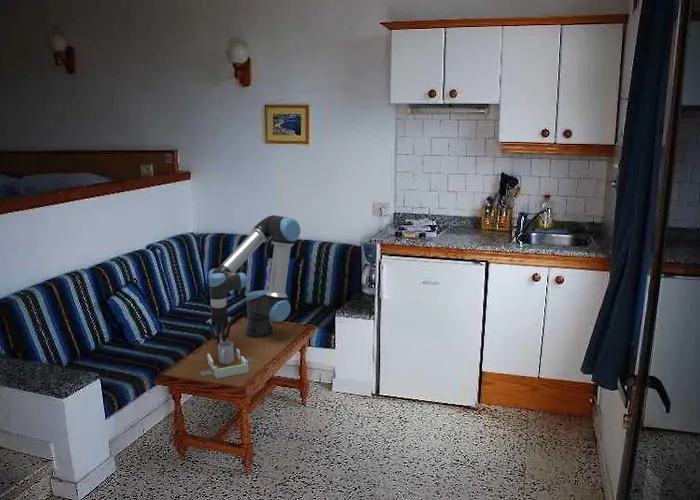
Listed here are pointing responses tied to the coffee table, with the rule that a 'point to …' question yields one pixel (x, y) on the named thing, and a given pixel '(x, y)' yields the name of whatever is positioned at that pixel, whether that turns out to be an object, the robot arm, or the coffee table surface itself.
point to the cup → (226, 352)
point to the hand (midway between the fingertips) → (221, 352)
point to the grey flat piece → (228, 370)
